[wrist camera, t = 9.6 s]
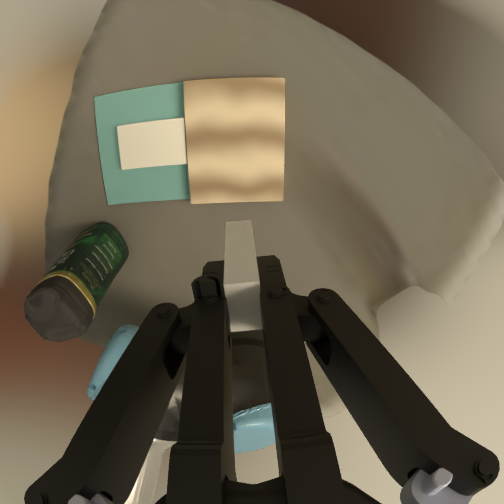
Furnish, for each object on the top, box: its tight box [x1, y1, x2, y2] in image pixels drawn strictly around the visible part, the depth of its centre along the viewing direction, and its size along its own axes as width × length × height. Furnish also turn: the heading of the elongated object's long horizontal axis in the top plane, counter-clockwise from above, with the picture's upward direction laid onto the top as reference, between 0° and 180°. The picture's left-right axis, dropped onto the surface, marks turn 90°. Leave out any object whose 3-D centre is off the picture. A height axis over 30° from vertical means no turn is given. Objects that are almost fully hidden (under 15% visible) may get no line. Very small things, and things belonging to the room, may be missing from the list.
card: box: [117, 117, 188, 170], centre depth 35 cm, size 6×9×2 cm, turn 91°
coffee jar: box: [24, 223, 128, 342], centre depth 35 cm, size 10×8×19 cm
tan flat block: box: [184, 78, 285, 204], centre depth 35 cm, size 16×12×2 cm
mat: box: [94, 82, 191, 205], centre depth 36 cm, size 16×13×1 cm
